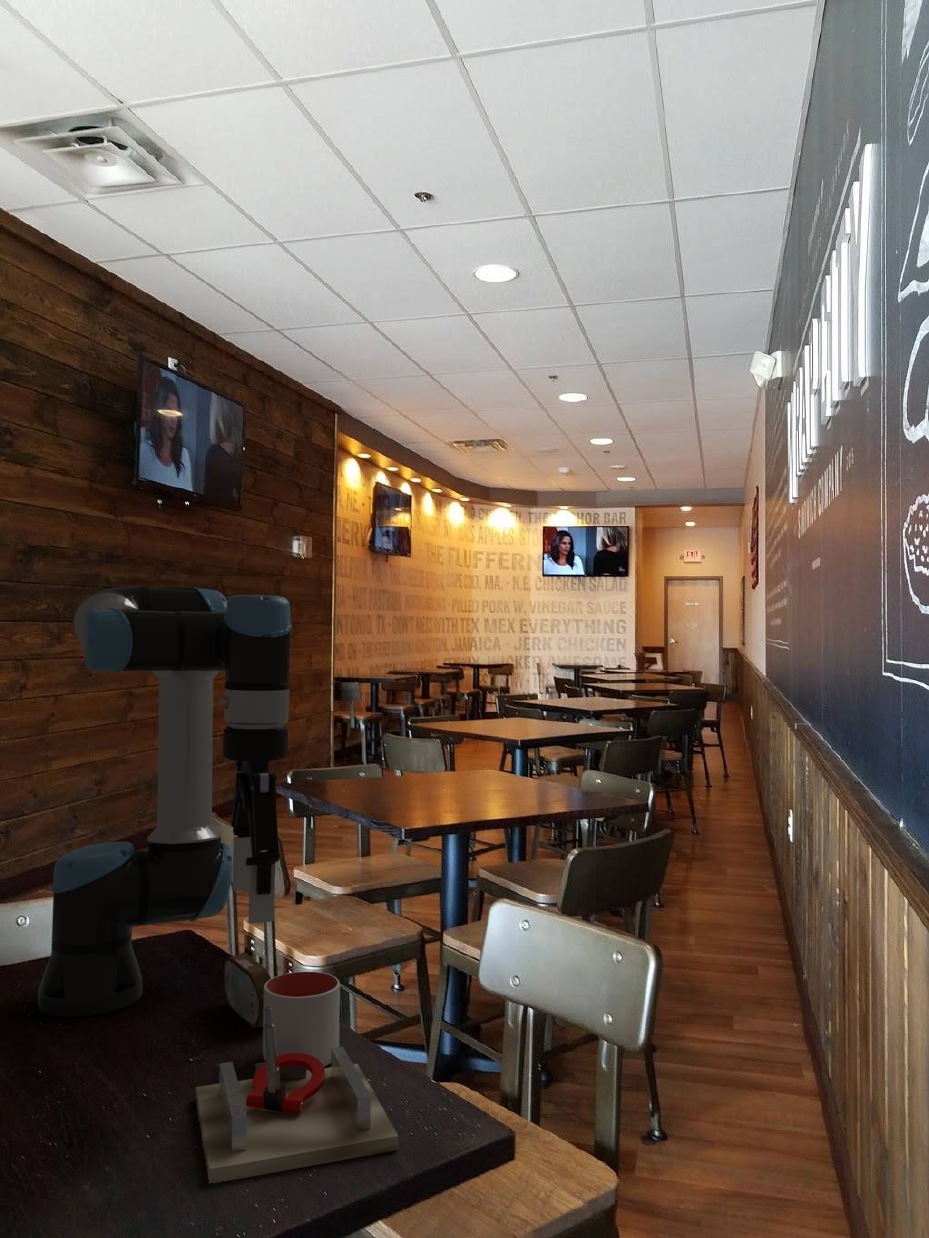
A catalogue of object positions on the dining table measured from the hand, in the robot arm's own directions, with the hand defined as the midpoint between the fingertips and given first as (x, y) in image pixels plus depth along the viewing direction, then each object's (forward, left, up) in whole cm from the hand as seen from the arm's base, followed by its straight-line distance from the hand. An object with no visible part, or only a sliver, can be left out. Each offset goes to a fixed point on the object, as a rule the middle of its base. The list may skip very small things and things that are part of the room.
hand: (252, 904), depth 110 cm
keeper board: (+4, +4, -24) cm, 25 cm away
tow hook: (0, +5, -22) cm, 22 cm away
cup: (-13, +8, -25) cm, 29 cm away
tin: (-29, +3, -25) cm, 38 cm away
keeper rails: (+3, +4, -23) cm, 23 cm away
